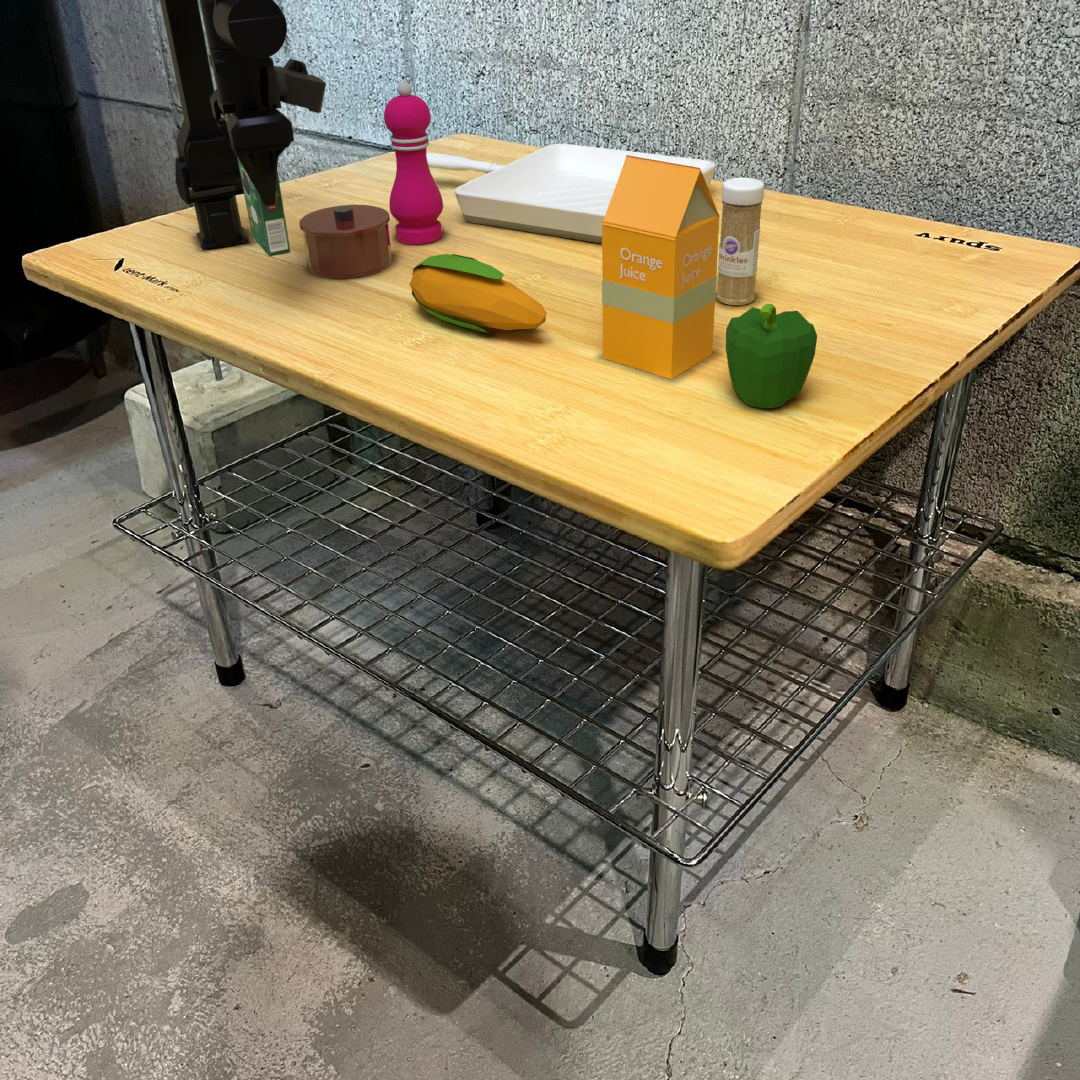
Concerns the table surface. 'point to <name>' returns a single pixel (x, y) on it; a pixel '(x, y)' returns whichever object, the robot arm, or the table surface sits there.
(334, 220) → the pot lid
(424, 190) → the pepper mill
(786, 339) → the bell pepper
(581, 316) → the table surface
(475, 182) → the pan
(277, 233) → the coffee box
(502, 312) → the corn
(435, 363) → the table surface
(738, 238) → the sprinkles bottle
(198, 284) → the table surface
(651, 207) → the orange juice
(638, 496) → the table surface
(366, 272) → the pot
